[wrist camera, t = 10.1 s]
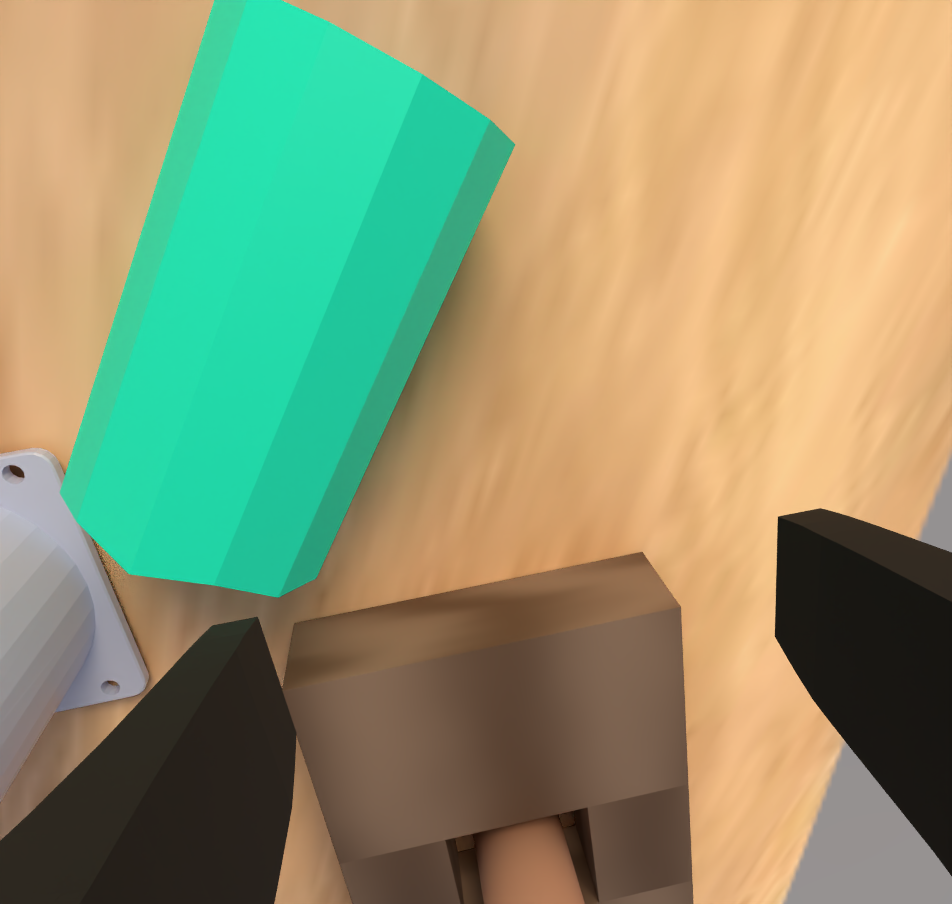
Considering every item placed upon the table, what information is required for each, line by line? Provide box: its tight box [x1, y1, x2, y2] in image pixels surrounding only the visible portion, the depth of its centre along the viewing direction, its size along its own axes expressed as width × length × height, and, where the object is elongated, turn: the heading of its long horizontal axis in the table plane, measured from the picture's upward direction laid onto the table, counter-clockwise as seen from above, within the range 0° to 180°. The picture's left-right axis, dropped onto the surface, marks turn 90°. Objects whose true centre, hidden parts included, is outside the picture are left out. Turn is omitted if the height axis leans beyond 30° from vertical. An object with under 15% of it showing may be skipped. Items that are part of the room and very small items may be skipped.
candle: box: [60, 0, 515, 598], centre depth 15 cm, size 6×6×12 cm
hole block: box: [282, 552, 693, 904], centre depth 24 cm, size 11×18×3 cm, turn 9°
